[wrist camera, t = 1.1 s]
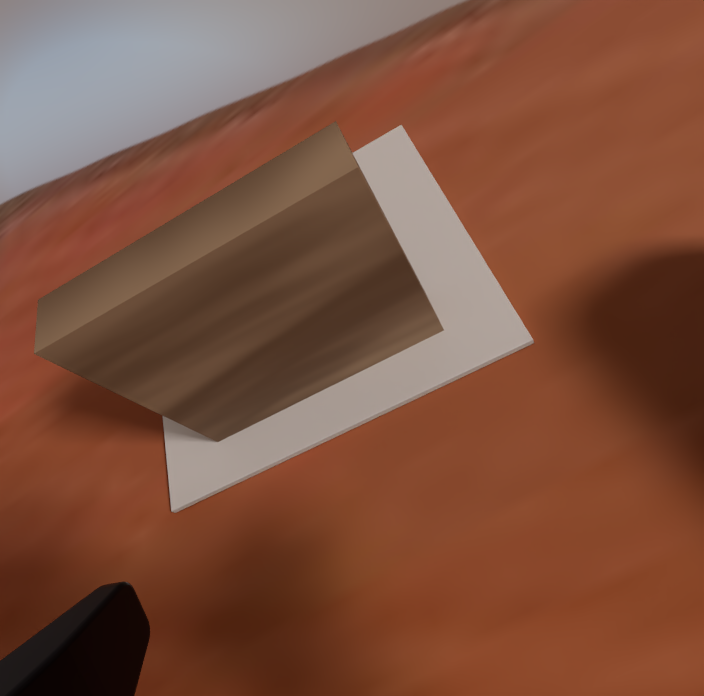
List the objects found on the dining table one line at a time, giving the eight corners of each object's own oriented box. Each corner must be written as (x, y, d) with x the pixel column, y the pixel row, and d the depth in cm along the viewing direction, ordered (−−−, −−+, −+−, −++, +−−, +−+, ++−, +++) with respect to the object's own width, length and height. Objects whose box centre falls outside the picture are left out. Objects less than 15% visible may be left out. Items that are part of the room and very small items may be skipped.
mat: (533, 343, 21) (533, 339, 21) (175, 512, 25) (171, 511, 24) (402, 128, 30) (401, 124, 30) (152, 274, 33) (149, 271, 33)
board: (444, 330, 23) (358, 166, 15) (217, 442, 25) (34, 353, 17) (424, 290, 24) (335, 121, 16) (211, 400, 26) (37, 299, 18)
